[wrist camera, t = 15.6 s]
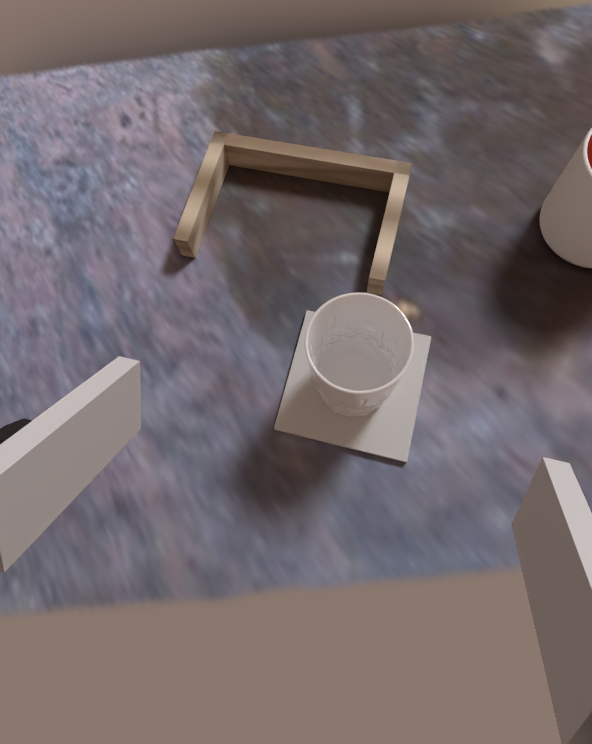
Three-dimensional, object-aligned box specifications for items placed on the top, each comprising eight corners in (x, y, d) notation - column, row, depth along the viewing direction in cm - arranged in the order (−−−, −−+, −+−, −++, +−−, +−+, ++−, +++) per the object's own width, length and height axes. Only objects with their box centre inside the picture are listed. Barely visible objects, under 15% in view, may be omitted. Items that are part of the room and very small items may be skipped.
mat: (274, 429, 44) (273, 428, 44) (307, 312, 48) (306, 310, 47) (406, 462, 43) (407, 461, 42) (430, 338, 46) (431, 336, 46)
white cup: (368, 440, 43) (379, 414, 33) (293, 394, 45) (283, 357, 35) (412, 368, 45) (434, 324, 35) (338, 327, 46) (340, 274, 37)
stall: (381, 295, 48) (385, 280, 45) (181, 255, 51) (173, 238, 48) (407, 183, 52) (412, 163, 49) (220, 152, 55) (214, 131, 52)
